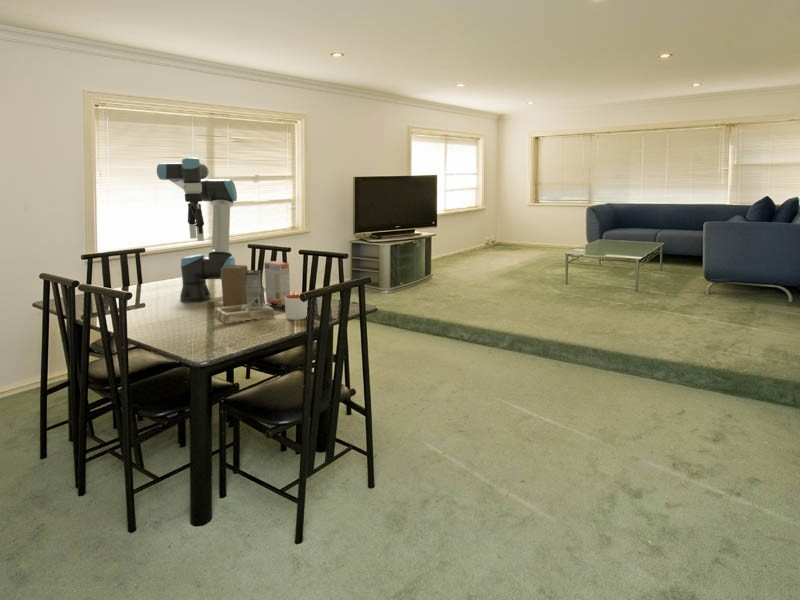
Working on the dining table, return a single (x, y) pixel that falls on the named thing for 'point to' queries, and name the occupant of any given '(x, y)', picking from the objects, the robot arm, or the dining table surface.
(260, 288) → the coffee box
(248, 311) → the hole board
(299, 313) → the cup
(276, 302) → the cracker box
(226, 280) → the wooden block
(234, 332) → the dining table surface
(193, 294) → the robot arm
